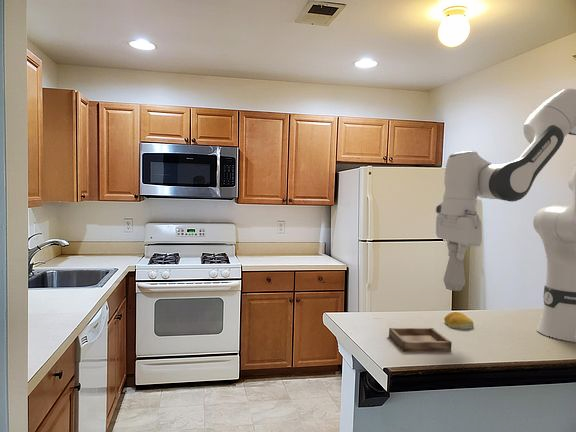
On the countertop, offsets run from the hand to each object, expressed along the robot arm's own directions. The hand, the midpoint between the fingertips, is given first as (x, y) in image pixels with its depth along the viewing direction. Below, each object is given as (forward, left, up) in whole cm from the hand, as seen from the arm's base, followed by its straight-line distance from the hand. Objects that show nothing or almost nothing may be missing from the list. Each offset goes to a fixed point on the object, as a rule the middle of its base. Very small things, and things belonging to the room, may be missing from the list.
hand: (455, 258), depth 128 cm
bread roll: (-9, -14, -24) cm, 29 cm away
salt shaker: (0, 0, -9) cm, 9 cm away
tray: (+11, +3, -24) cm, 26 cm away
